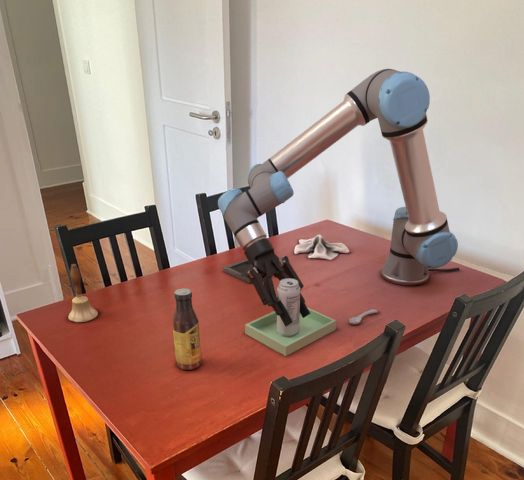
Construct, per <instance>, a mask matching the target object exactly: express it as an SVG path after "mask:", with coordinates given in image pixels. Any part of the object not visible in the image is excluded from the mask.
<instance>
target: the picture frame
mask: <svg viewBox="0 0 524 480" xmlns="http://www.w3.org/2000/svg"><path fill="white" fill-rule="evenodd" d="M279 265H280V264H279ZM252 268H253V267H252V264H251V263H249V261H248V259H247V258H245V259H242V260H239V261H236V262H234V263H232V264H229V265H225V266H223V267H222V269H223V273H226V274H228V275H230V276H232V277H234V278H237V279H239V280H241V281H243V282H245V283H247V284H253V283H252V281H251V280H250V279H249V277H248V276H247V275H246V274H247V272H248V271H249V270H250V269H252ZM278 272H279V271H278ZM278 272H277V273H278ZM258 275H259V276H260V274H259V273H258ZM260 278H261V276H260Z"/></svg>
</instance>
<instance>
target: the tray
mask: <svg viewBox="0 0 524 480" xmlns="http://www.w3.org/2000/svg"><path fill="white" fill-rule="evenodd" d="M307 308H308V310H309V312H310V314H309V315H308V316H306V317H305V318H303V317H302V315H301V314H300V315H299V331H298V332H297V334H296V335H295V336H292V337H284V336H281V335H280V334H279V332H278V331H277V314H276V313H275V311H274V310H273V311H271V312H269V313H268V314H265V315H263V316H261V317H259V318H256V319H253V320H252V321H250V322H248V323H245V324H244V328H245V329H244V331H245V332H244V333H245V335H247V336H248V337H250V338H252V339H253V340H256V341H257V342H259V343H261V344H263V345H264V346H266V347H268V348H270V349H271V350H274V351H275V352H277V353H279V354H281V355H283V356H284V357H288V356H289V355H291V354H292V353H294V352H297V351H298V350H300V349H302V348H304V347H305V346H308V345H309V344H312V343H313V342H315V341H318V340H319V339H320V338H321V339H322V338H323V337H325V336H327V335H328V334H331V333H332V332H334V331H335V330H336V329H337V320H336V319H334V318H332V317H330V316H328V315H325V314H323V313H320V312H319V311H317V310H314V309H312V308H310V307H308V306H307Z"/></svg>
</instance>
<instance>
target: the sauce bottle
mask: <svg viewBox="0 0 524 480" xmlns="http://www.w3.org/2000/svg"><path fill="white" fill-rule="evenodd" d="M173 293H174V295H173V296H174V300H175V309H176V310H175V311H174V313H173V315H172V333H173V343H174V353H175V360H176V365H177V368H179V369H180V370H185V371H192V370H195V369H197V368H198V367H200V366H201V364H202V349H201V334H200V323H199V321H200V320H199V318H198V316H197V314H196V312H195V310H194V307H193V306H194V305H193V301H192V299H193V291H192V290H191V289H190V288H186V287H183V288H177V289H176V290H174V292H173Z"/></svg>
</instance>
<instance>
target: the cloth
mask: <svg viewBox="0 0 524 480" xmlns="http://www.w3.org/2000/svg"><path fill="white" fill-rule="evenodd" d="M298 243H299V244H297V245H295V246H294V251H293V252H294V255H298V254H304V253H305V254H307V253H308V255H307V258H308V259H319V260H329V261H332V260H334V259H335V258H337V257H338V255H339V253H341V254H349V253H350V252H351V251H350V249H349V248H348V247H347V245H346V244H345V243H344V242H329V241H327V240H326V239H325V237H324V236H323V235H322V234H320V233H319V234H317V235H316V236H314V237H311V238H309V239H298Z"/></svg>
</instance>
